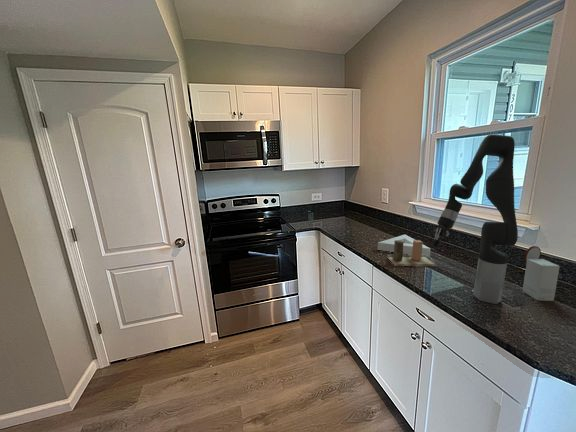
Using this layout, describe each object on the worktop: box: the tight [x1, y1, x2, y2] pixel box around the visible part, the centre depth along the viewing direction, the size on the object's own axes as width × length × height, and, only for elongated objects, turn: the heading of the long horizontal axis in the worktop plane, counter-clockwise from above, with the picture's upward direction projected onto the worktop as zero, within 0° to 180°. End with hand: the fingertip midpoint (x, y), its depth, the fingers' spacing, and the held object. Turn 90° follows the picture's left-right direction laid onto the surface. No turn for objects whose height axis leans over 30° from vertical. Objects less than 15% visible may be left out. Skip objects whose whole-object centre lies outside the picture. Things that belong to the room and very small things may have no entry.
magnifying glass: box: [523, 245, 542, 264], centre depth 111 cm, size 9×2×20 cm, turn 103°
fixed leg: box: [392, 240, 404, 261], centre depth 144 cm, size 4×6×11 cm, turn 177°
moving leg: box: [411, 239, 424, 260], centre depth 143 cm, size 4×6×11 cm, turn 177°
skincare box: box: [522, 258, 561, 302], centre depth 105 cm, size 8×7×16 cm
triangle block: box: [377, 234, 431, 259], centre depth 168 cm, size 30×26×6 cm
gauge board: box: [386, 254, 436, 268], centre depth 144 cm, size 22×12×2 cm, turn 87°
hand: (434, 246), depth 139 cm, fingers closed
